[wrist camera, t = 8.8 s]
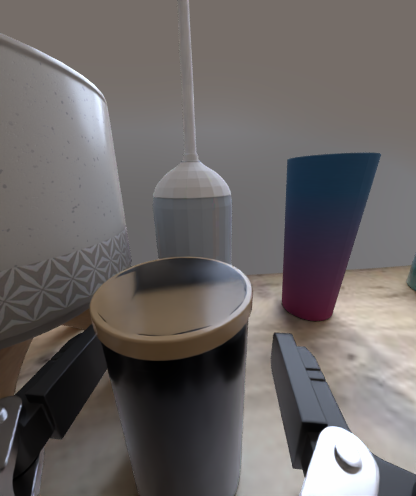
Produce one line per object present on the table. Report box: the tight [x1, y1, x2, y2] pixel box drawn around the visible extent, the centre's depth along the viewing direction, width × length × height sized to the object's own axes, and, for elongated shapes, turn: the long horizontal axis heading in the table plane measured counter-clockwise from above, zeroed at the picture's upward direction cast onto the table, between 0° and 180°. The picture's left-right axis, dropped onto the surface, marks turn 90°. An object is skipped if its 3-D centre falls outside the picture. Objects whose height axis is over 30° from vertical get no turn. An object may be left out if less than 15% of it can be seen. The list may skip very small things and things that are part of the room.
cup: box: [282, 152, 381, 321], centre depth 20 cm, size 7×7×15 cm
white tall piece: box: [153, 0, 232, 265], centre depth 17 cm, size 8×8×25 cm
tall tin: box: [89, 257, 253, 496], centre depth 9 cm, size 5×5×10 cm
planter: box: [0, 33, 133, 399], centre depth 12 cm, size 13×13×18 cm
